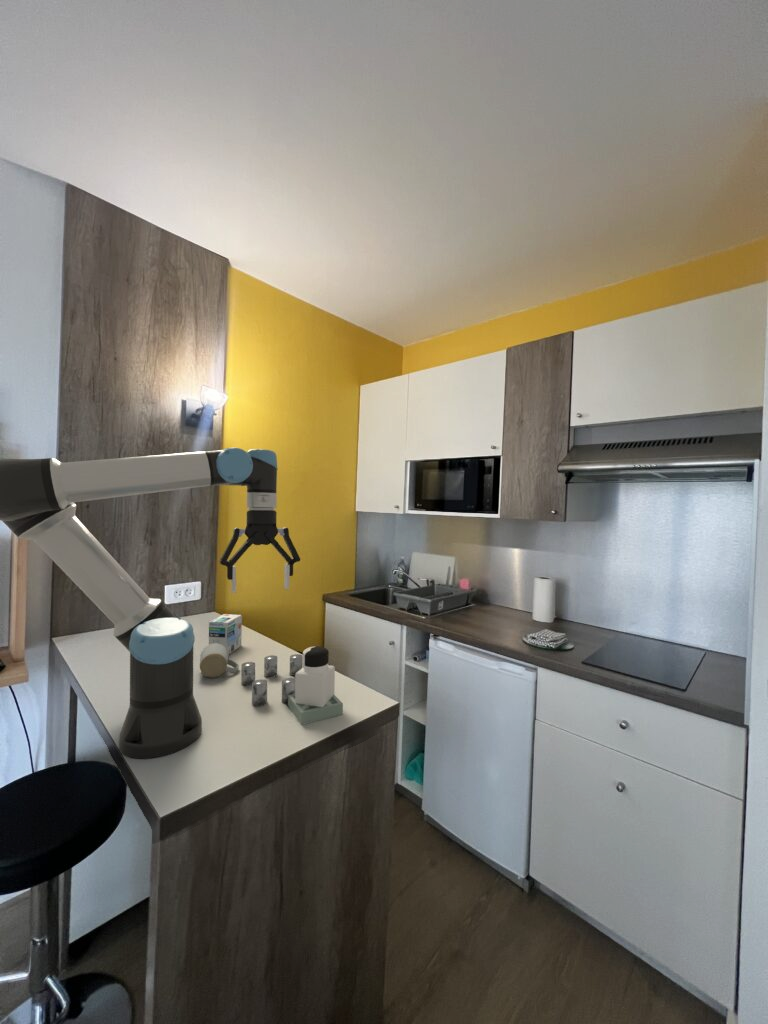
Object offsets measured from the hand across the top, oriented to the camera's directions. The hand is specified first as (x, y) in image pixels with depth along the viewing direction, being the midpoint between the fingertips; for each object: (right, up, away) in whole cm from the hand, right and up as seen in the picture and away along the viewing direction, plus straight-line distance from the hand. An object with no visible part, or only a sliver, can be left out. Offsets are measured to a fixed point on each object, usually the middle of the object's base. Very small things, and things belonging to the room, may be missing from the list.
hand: (260, 590), depth 110 cm
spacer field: (+4, -26, +2) cm, 27 cm away
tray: (+16, -27, -11) cm, 33 cm away
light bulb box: (-21, -26, +30) cm, 45 cm away
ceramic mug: (-15, -26, +11) cm, 32 cm away
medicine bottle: (+16, -24, -11) cm, 31 cm away
